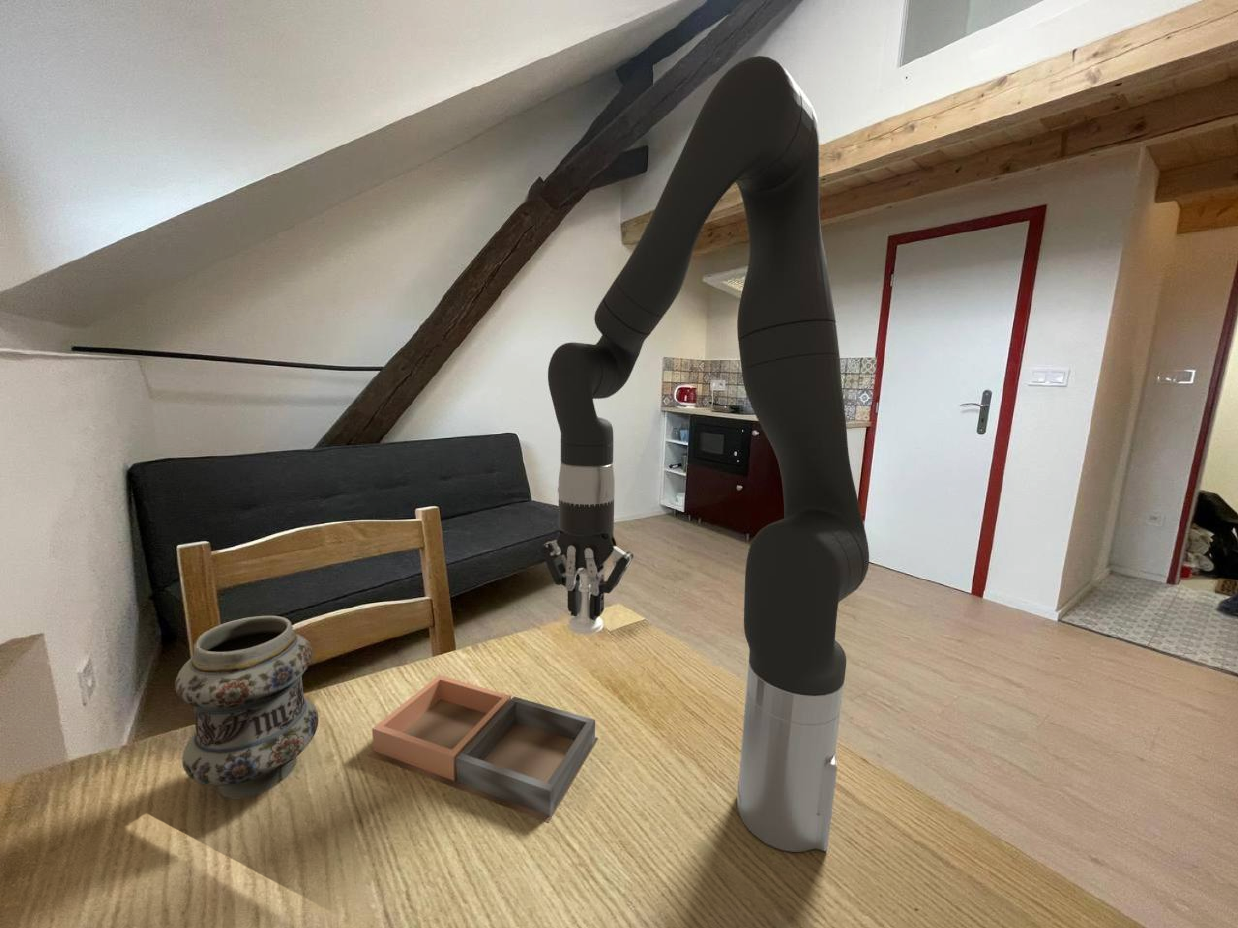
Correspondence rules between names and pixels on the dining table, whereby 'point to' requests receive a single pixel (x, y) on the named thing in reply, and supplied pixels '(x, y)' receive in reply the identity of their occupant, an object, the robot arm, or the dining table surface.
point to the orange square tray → (409, 747)
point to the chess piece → (585, 610)
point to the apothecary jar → (247, 705)
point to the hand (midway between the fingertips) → (585, 615)
